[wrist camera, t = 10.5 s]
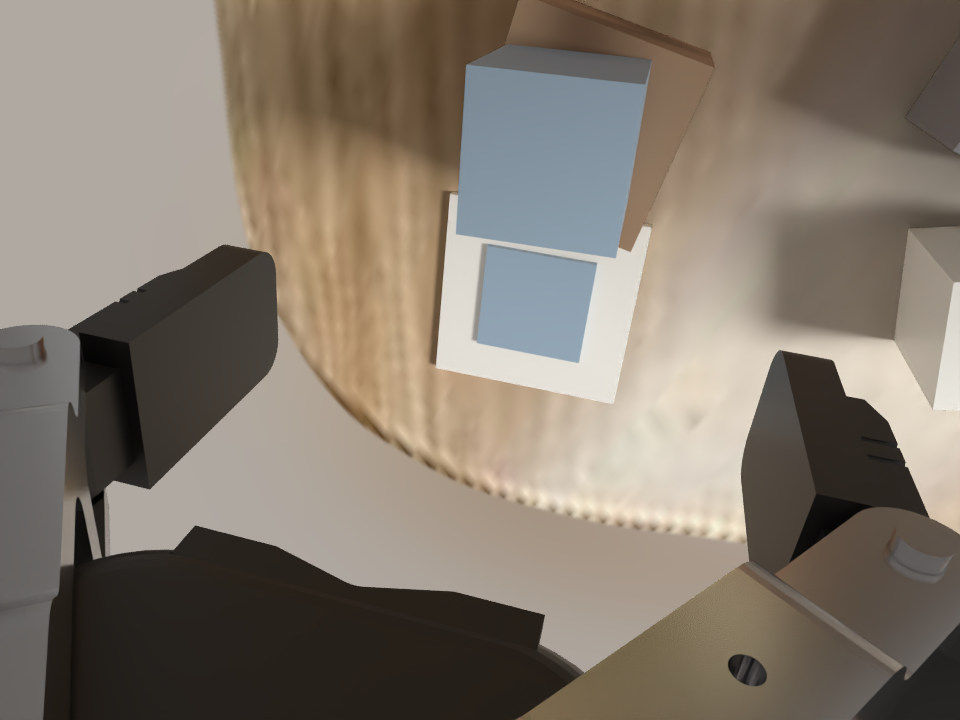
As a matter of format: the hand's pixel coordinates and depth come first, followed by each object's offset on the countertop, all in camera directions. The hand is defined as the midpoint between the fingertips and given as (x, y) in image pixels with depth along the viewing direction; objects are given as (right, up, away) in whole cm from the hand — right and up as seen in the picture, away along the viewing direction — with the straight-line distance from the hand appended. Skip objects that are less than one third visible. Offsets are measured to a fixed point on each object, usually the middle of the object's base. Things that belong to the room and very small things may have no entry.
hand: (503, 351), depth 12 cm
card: (+2, +3, +24) cm, 24 cm away
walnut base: (+4, +10, +20) cm, 23 cm away
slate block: (+3, +8, +15) cm, 18 cm away
